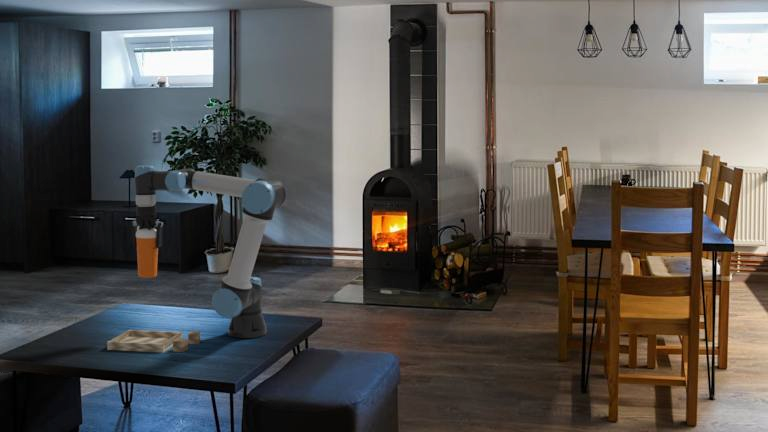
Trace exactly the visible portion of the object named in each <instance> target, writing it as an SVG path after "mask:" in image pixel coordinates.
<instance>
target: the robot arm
mask: <svg viewBox="0 0 768 432" xmlns="http://www.w3.org/2000/svg"><path fill="white" fill-rule="evenodd" d="M134 184H135V205H136V207H135V215H136V218H135V220H132V221H130V222H129V223H128V224H129V226H130V228H131V229H130V231H131V241H132V247H134V248H137V243H136V231H137V227H138V226H139V230H140V229H144V228H146V229H148V230H151V227H150V226H152V227H154V226H156V230H157V232H156V248H158V249H159V248H160V247H162V246H163V227H164V221H159V220H158V217H157V206H156V204H157V197H156V194H157V193H156V192H157V191H161V192H162V191H163V192H164V191H166V192H168V191H169V192H181V191H182V190H183V189H187V190H195V191H200V192H201V191H202V192H206V193H213V194H219V195H223V196H224V195H226V196H231V197H237V198H241V202H242V205H243V206H242V210H241V213H242V215H243V216H244V217H243V220H242V224H241V227H240V231H239V234H238V238H237V241H236V244H235V245H236V246H235V248H234V252H233V255H232V258H231V262H230V266H229V269H228V272H227V275H225V276H223V277H222V279H221V282H220V286H219V289H217V290H216V291H215V292H214V294H213V295H212V299H211V304H212V307H213V308H212V309H214V311H215V312H216V314H218V315H219V316H221V317H222V318H226V319H229V318H231V319H230V322H229V324H228V328H227V330H228V332H227V334H228V336H229V337H232V338H237V339H255V338H260V337H263V336H265V335H266V334H267V325H266V322H265V319H264V316H263V311H262V310H263V307H262V306H263V304H262V303H263V300H262V299H263V296H262V295H263V292H262V290H263V289H262V288H263V285H262V280H261V278H260V277H256V276H252V274H253V271H254V266H255V264H256V260H257V257H258V254H259V250H260V247H261V243H262V240H263V236H264V233H265V230H266V227H267V223H269V222H271V221H272V220H273V217H274V213H275V210H276V209H278V208H280V207H282V206H283V204H284V203H285V202H286V200H287V197H288V196H287V189H286V186H285V185H284V184H283V183H282V181H280V180H278V179H277V178H276V179H275V178H262V177H257V178H255V179H250V178H244V177H237V176H230V175H224V174H218V173H212V172H205V171H199V170H197V171H196V170H194V169H193V168H183V169H176V170H166V171H165V170H162V171H161V170H156V168H155V165H137V166H136V167H135V168H134ZM183 191H184V190H183ZM146 226H147V227H146ZM154 248H155V247H154ZM154 248H153V249H154Z"/></svg>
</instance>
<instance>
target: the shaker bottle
mask: <svg viewBox="0 0 768 432" xmlns="http://www.w3.org/2000/svg"><path fill="white" fill-rule="evenodd" d="M146 227H147V226H146ZM150 227H151V230H148V229H146V228H144V229H140V230H139V225H137V231H136V243H137V247H136V256H137V257H136V258H137V275H138V277H139V278H144V279H148V278H149V279H150V278H151V279H152V278H156V277H157V276H158V261H159V260H158V255H159V247H158V248H156V232H157V226H156V225H155V226H154V227H152V226H150ZM154 247H155V248H154ZM153 248H154V249H153Z"/></svg>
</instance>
